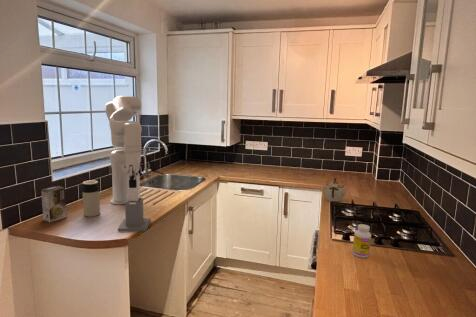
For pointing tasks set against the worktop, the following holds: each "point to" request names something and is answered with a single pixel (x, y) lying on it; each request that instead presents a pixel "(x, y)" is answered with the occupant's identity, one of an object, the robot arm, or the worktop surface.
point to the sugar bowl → (334, 191)
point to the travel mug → (91, 198)
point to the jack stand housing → (134, 217)
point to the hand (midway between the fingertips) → (133, 185)
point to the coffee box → (54, 203)
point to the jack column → (134, 190)
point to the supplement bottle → (362, 241)
